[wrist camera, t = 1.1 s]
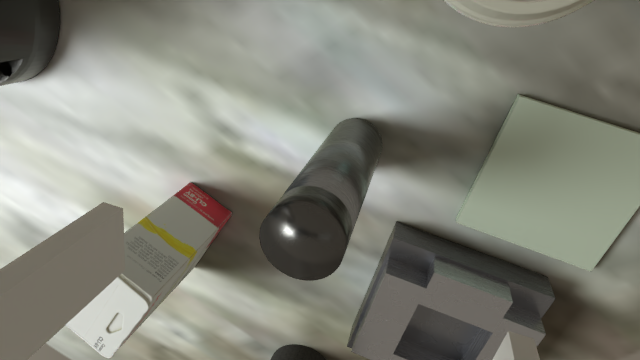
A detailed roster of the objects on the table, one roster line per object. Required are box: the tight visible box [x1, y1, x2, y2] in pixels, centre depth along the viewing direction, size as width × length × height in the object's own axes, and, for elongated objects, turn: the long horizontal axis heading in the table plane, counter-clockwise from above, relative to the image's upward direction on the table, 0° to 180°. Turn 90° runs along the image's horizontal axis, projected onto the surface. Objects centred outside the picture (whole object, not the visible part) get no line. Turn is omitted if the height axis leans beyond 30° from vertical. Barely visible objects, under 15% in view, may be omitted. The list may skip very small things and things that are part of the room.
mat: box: [456, 94, 640, 271], centre depth 29 cm, size 10×10×1 cm
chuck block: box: [347, 221, 556, 360], centre depth 33 cm, size 12×12×4 cm
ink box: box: [65, 183, 232, 359], centre depth 33 cm, size 9×5×12 cm, turn 143°
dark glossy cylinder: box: [260, 118, 382, 280], centre depth 25 cm, size 4×4×14 cm
